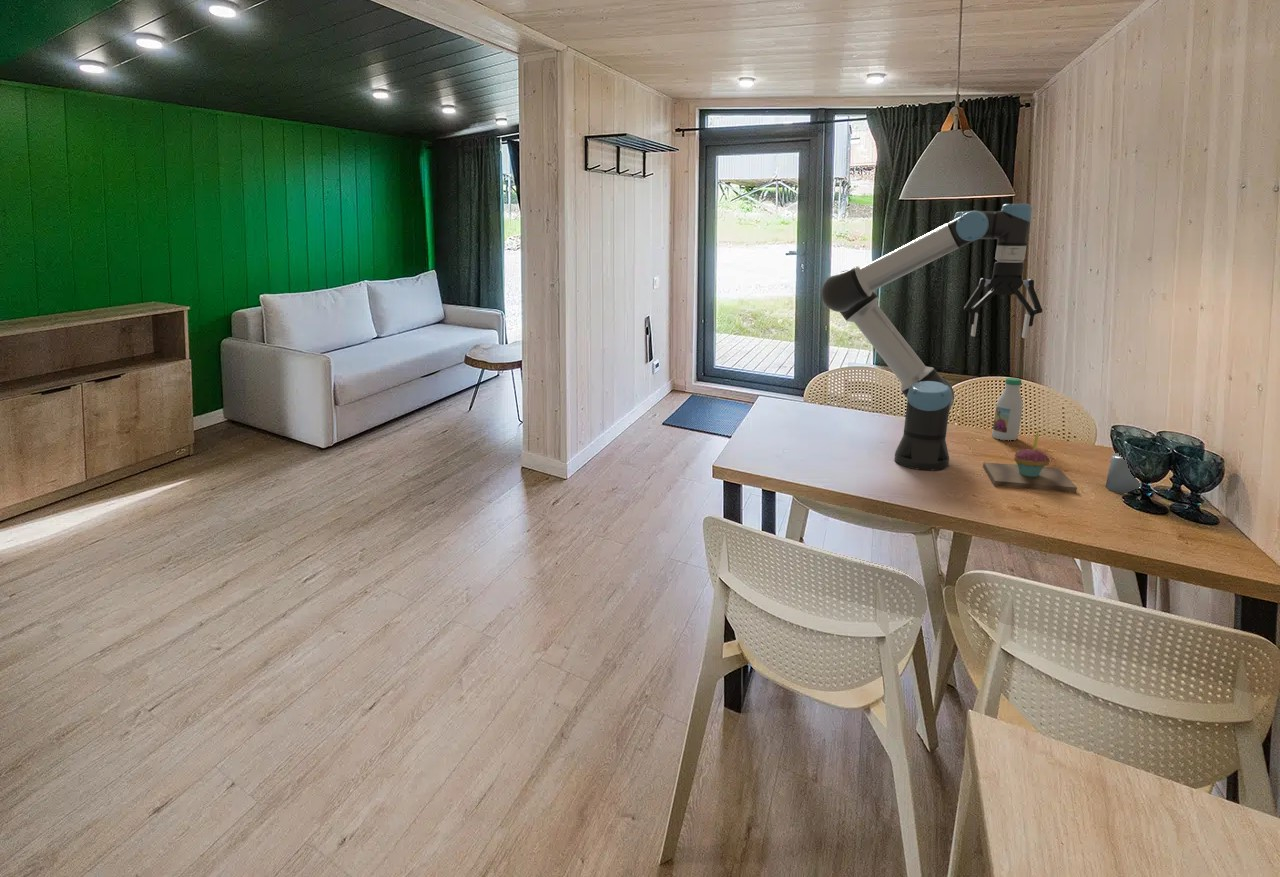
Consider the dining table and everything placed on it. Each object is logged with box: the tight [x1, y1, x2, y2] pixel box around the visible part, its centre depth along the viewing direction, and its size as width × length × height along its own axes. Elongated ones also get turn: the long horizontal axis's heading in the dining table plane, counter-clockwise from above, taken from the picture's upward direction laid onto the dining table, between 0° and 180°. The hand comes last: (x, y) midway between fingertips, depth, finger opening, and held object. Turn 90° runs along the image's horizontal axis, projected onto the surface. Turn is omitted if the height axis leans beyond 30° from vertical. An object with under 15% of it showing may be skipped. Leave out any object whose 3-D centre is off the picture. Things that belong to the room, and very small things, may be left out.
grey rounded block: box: [1105, 452, 1140, 495], centre depth 192 cm, size 8×8×9 cm
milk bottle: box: [991, 377, 1024, 442], centre depth 235 cm, size 8×8×20 cm
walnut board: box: [982, 461, 1078, 494], centre depth 200 cm, size 20×16×2 cm
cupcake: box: [1013, 430, 1050, 477], centre depth 198 cm, size 9×8×12 cm
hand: (998, 336), depth 208 cm, fingers open, 13 cm apart
